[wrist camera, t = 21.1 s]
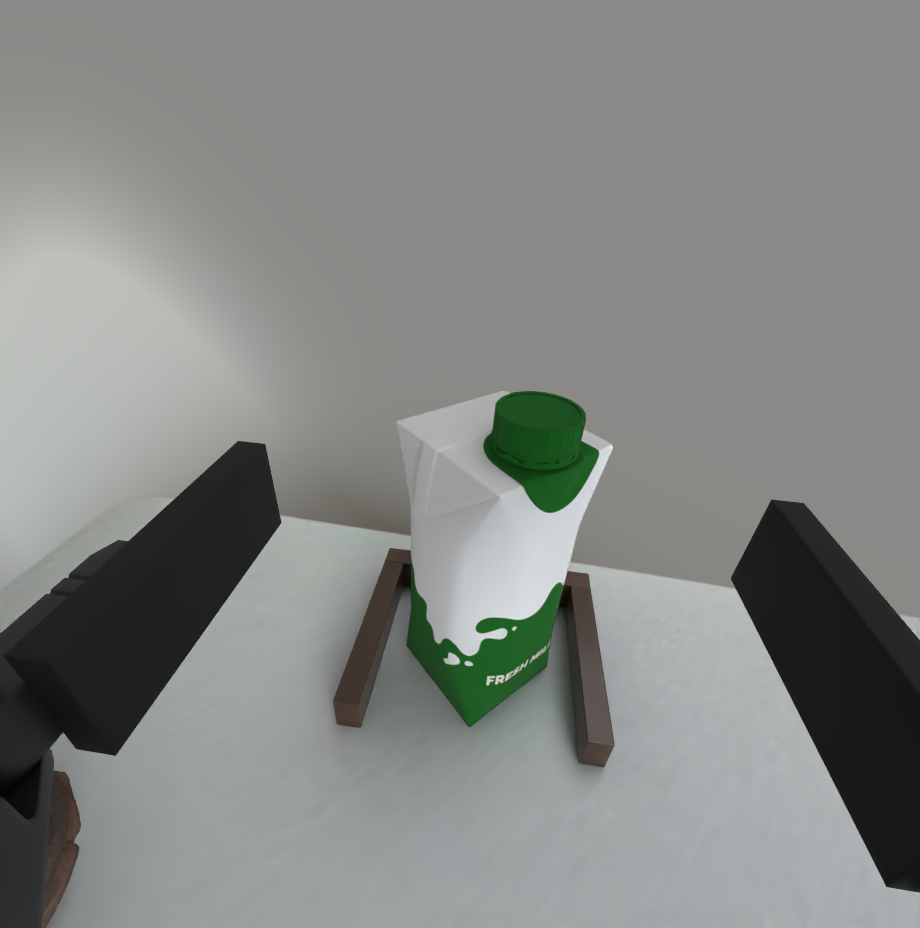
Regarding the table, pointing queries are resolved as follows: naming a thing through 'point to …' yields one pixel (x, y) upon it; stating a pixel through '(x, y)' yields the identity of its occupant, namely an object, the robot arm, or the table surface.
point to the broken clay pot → (60, 843)
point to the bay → (581, 641)
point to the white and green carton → (493, 536)
